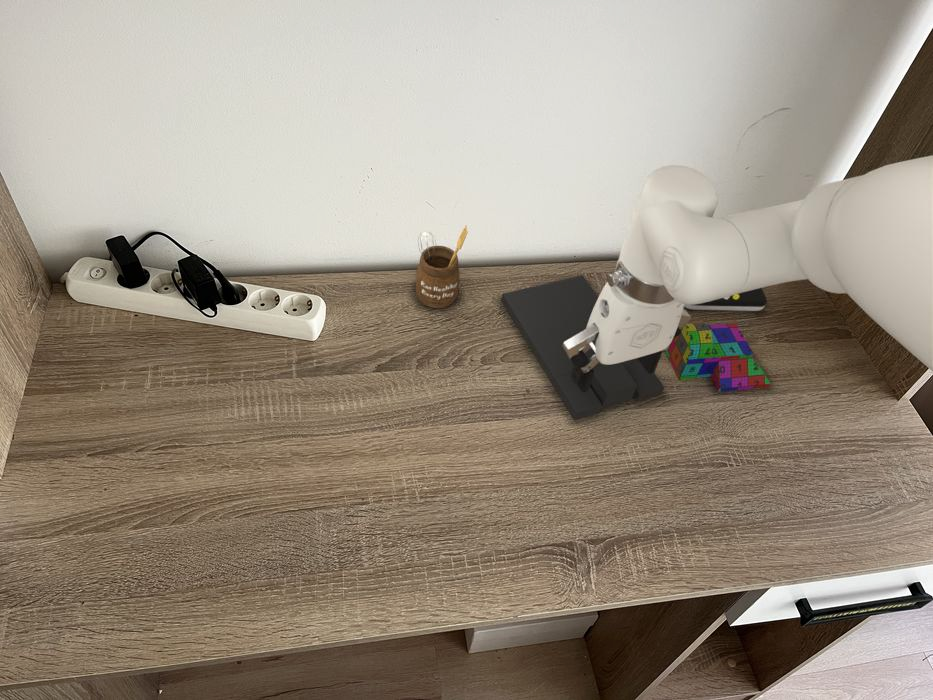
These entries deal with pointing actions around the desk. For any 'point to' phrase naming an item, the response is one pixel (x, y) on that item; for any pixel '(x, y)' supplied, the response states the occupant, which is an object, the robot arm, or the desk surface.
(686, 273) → the robot arm
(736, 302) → the remote control
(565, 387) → the big pad
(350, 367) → the desk surface
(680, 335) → the block
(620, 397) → the small black box
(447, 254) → the utensil holder
